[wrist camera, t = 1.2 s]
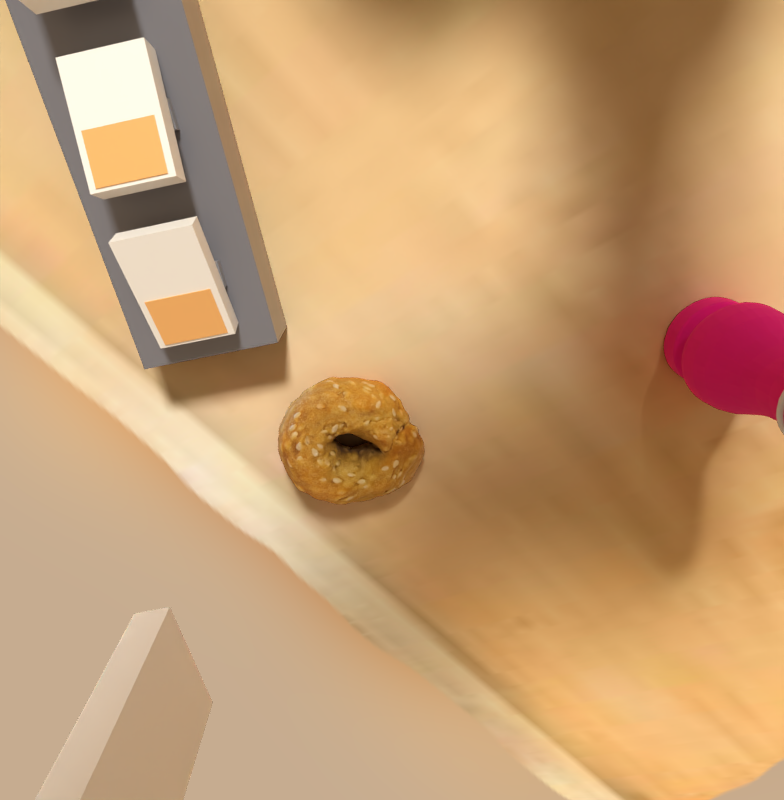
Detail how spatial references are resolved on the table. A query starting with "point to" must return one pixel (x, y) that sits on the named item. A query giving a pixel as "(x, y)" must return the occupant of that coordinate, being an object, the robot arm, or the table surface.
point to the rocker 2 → (121, 118)
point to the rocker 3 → (175, 282)
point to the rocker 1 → (51, 4)
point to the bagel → (340, 465)
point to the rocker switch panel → (199, 150)
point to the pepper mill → (730, 355)
